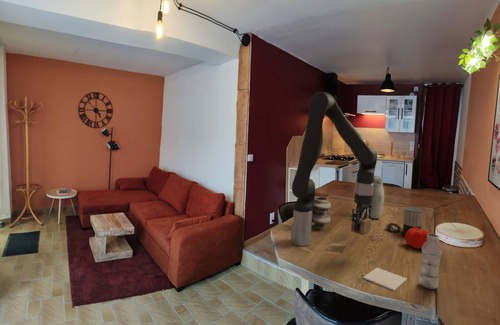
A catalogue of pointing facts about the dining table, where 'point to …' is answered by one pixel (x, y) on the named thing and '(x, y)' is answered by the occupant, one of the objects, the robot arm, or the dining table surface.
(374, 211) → the white bottle
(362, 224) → the cube
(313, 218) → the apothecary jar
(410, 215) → the milk frother
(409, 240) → the tomato
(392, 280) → the plate
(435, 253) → the plastic bottle
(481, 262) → the dining table surface
